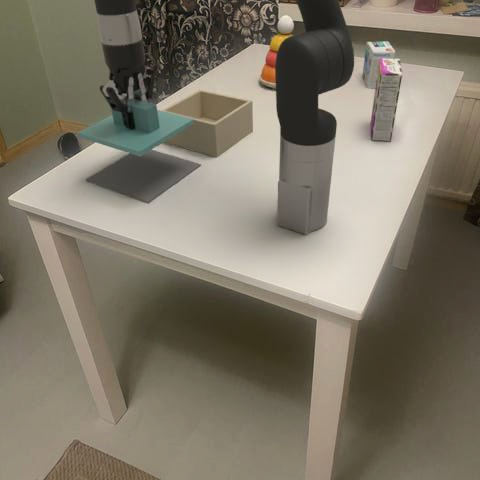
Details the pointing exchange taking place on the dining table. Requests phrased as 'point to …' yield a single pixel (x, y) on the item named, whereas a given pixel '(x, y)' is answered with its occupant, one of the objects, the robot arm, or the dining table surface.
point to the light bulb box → (375, 60)
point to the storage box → (212, 122)
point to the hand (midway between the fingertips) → (136, 124)
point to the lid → (137, 129)
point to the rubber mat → (144, 174)
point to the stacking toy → (275, 51)
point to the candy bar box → (385, 99)
